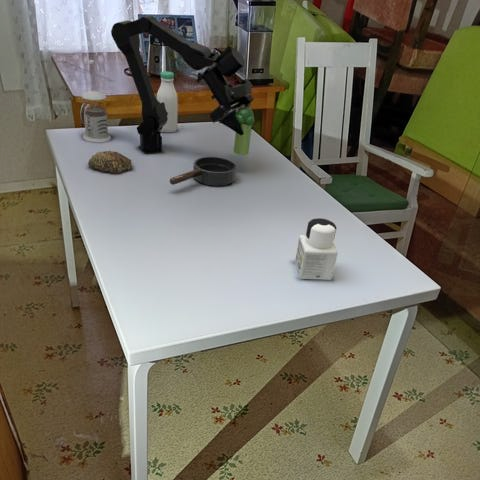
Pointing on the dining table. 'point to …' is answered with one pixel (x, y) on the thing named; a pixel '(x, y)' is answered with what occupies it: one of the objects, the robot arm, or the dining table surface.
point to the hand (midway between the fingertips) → (247, 132)
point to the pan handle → (186, 176)
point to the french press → (99, 123)
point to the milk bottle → (168, 101)
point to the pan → (215, 171)
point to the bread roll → (110, 162)
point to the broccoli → (246, 122)
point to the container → (317, 250)
